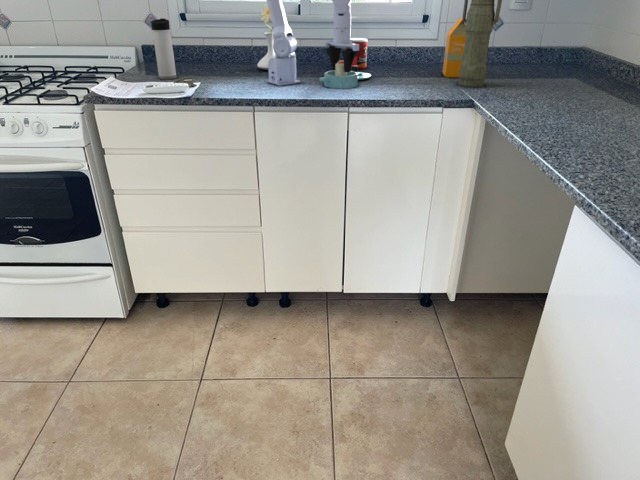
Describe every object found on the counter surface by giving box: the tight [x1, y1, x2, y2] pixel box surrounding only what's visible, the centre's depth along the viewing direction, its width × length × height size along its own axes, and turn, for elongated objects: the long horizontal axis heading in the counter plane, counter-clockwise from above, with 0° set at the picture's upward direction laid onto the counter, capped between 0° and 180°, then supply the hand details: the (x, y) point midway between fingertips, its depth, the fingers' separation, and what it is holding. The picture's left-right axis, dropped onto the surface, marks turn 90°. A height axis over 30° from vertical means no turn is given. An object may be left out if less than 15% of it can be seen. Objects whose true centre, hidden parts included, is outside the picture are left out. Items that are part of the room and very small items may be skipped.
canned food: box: [350, 37, 368, 70], centre depth 199 cm, size 8×8×11 cm
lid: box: [350, 65, 372, 81], centre depth 181 cm, size 13×13×4 cm
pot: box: [319, 69, 362, 90], centre depth 170 cm, size 12×17×4 cm
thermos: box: [457, 0, 503, 89], centre depth 163 cm, size 9×12×35 cm
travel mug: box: [150, 17, 177, 80], centre depth 177 cm, size 6×7×20 cm
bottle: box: [335, 59, 347, 76], centre depth 169 cm, size 4×4×8 cm
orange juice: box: [442, 17, 466, 78], centre depth 183 cm, size 8×9×20 cm
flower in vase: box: [257, 3, 276, 71], centre depth 190 cm, size 13×11×25 cm
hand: (341, 70), depth 169 cm, fingers open, 5 cm apart
